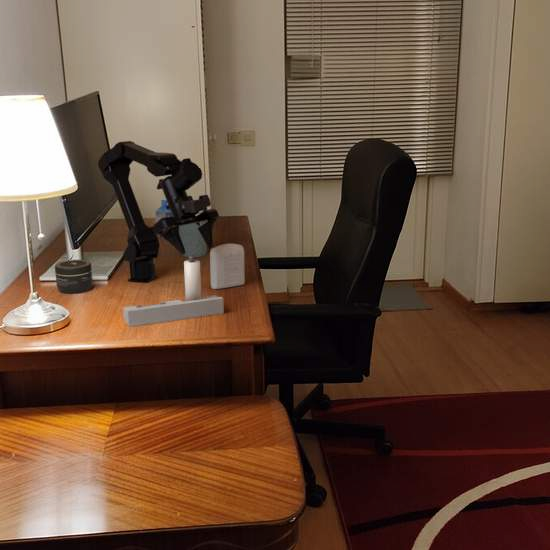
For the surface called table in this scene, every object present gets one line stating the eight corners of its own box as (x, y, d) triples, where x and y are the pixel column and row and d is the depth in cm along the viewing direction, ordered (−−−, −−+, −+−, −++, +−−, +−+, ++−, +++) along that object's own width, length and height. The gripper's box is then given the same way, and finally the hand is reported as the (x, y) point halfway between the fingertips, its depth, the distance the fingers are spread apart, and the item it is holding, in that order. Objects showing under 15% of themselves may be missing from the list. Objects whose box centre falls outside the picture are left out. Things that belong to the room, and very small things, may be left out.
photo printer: (239, 281, 201) (238, 240, 198) (247, 284, 198) (246, 243, 195) (208, 287, 196) (207, 245, 193) (215, 291, 193) (214, 248, 189)
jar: (75, 282, 202) (73, 257, 199) (100, 287, 197) (98, 261, 195) (49, 291, 193) (46, 265, 191) (74, 296, 188) (72, 270, 186)
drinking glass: (184, 258, 227) (182, 223, 224) (175, 252, 236) (173, 217, 233) (213, 255, 231) (211, 220, 228) (203, 249, 240) (202, 215, 237)
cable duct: (129, 326, 165) (128, 311, 164) (123, 318, 171) (122, 303, 170) (223, 313, 174) (223, 298, 173) (215, 305, 180) (215, 291, 179)
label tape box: (155, 232, 268) (154, 200, 264) (163, 230, 271) (161, 199, 267) (172, 234, 263) (170, 203, 259) (179, 232, 266) (178, 201, 263)
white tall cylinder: (188, 314, 174) (186, 258, 170) (184, 309, 177) (181, 255, 173) (203, 311, 175) (201, 256, 171) (199, 307, 179) (197, 253, 175)
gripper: (163, 189, 172) (186, 246, 170) (219, 181, 185) (241, 234, 183) (142, 206, 180) (163, 261, 178) (197, 197, 193) (218, 248, 191)
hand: (197, 251), depth 182 cm, fingers open, 9 cm apart
